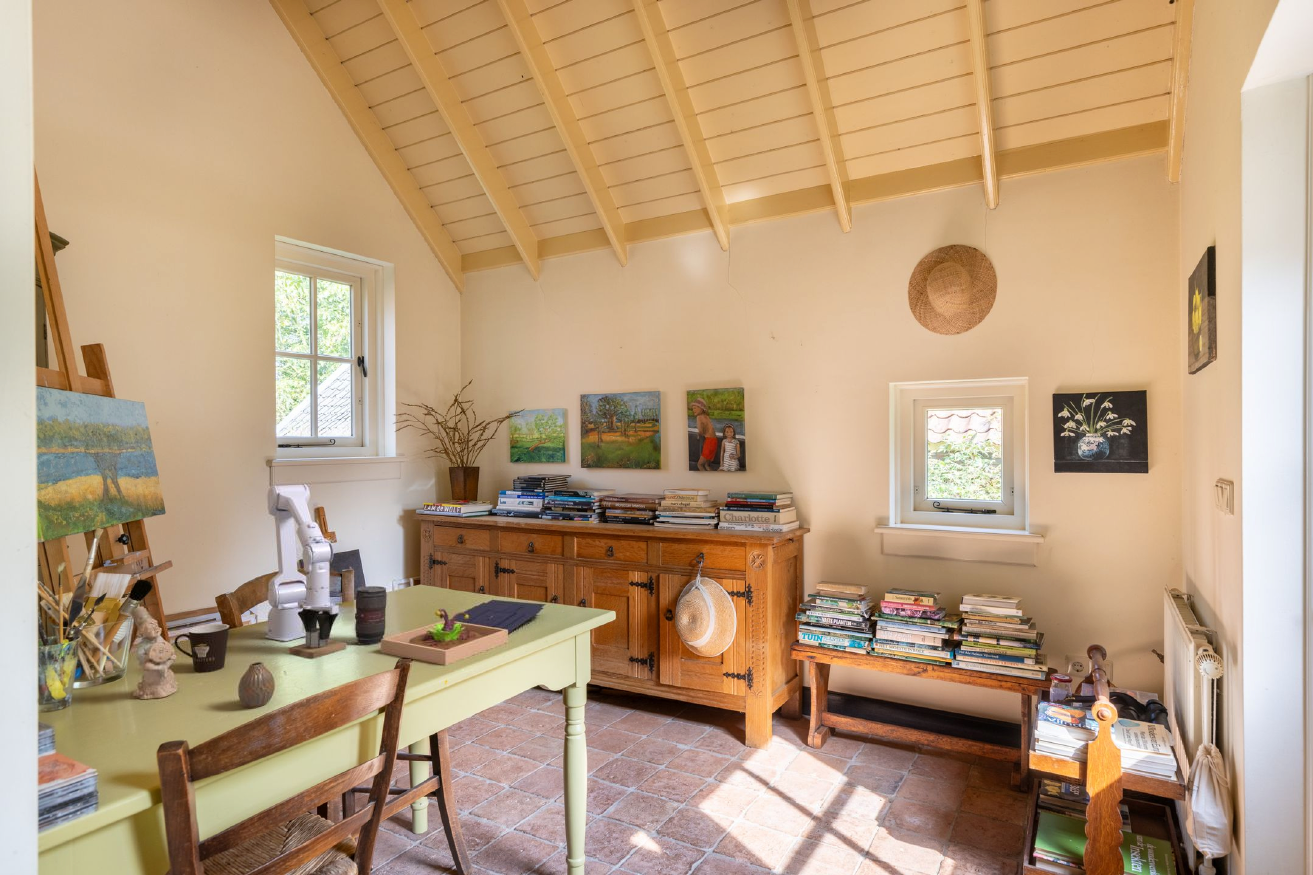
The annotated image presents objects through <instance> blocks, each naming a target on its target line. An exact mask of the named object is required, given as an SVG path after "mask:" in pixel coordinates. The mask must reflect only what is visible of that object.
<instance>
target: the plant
mask: <svg viewBox="0 0 1313 875" xmlns="http://www.w3.org/2000/svg"><path fill="white" fill-rule="evenodd" d="M442 612H443V613H442ZM461 614H463V615H464V618H465V619H468V615H467V614H466V613H463V612H462V611H461V612H458V613H456V614H455V615H453V617H452V618H449V614H448V611H446V609H444V608H439V609H436V611H435V616H436V617H439V619H440V620H443V621H445V623H444V625H442V624H437V627H435V626H433V628H434V629H435V630H436V632H434V631H433V630H431V629H427V630H428V631H427V632H429V633H425V634H422V635H419V636H416V637H414V638H412V639H410V642H409V643H410V644H415V645H421V646H426V647H432V648H437V649H442V650H447V649H450V648H453V647H456V646H459V645H462V644H465V643H468V642H471V641H474V640H476V639H479V638H482V637H484V636H482V635H480V634H478V633H476V632H470V630H469V631H462V630H463V629H464V628H462V629H460V626H461V623H457V624H455V625H454V622H455V619H456V618H457V616H458V615H461ZM450 619H451V620H450ZM449 620H450V621H449ZM459 629H460V630H459Z"/></svg>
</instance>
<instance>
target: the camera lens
mask: <svg viewBox="0 0 1313 875" xmlns="http://www.w3.org/2000/svg"><path fill="white" fill-rule="evenodd" d="M387 596H388V595H387V588H386V587H385V586H377V585H376V586H375V585H374V586H373V585H371V586H362V587H358V588H357V590H356V593H355V609H356V610H355V611H356V612H355V613H354V620H355V625H354V626H355V628H354V631H355V637H356V639H357V644H359V645H366V646H367V645H375V644H379V643H381V639H384V635H385V633H386V609H387V608H386V607H387V600H388V599H387Z"/></svg>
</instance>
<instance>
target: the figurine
mask: <svg viewBox="0 0 1313 875" xmlns="http://www.w3.org/2000/svg"><path fill="white" fill-rule="evenodd" d="M130 615H131V617H132V619H133V621H134V622H135V625H136V626H137V631H136V636H137V637H139V638H141V641H140V642H137V650H136V655H135V656H136V657H135V658H136V660H137V661H138V666H140V667H141V669H142V670H143V672H144V673H143V674H142V675H141V682H137V685H136V687H137V688H136V689H135V690H134V691H133V693H132V696H133V697H137V698H139V699H142V700H149V699H150V700H151V699H159V698H160V699H161V698H164V697H168V696H170V695H172V694H173V693H175V692H177V690H178V685H179V683H178V682H177V681H176V680H175V676H176V675H175V673H174V672H173V671H172V670H171V668H169V667H170V666H171V665H172V664H173V663H174V662H175V661H177V659H178V657H177V655H176V653H175V651H176V650H175V648H174V646H172V645H171V644H170V643H169V642H168V641H167V640H165V639H164V638H163V636H162V635H161V634H162V628H161V627H159V624H158V620H156V619H155V618H153V616H151V615H150V613H149V612H148V611H147V609H146V608H145V607H144V606H139V607H137V608H136V609H134V610H132V611H131V612H130Z"/></svg>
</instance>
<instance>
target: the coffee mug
mask: <svg viewBox="0 0 1313 875" xmlns="http://www.w3.org/2000/svg"><path fill="white" fill-rule="evenodd" d="M229 630H230V625H228V624H226V623H225V624H224V623H218V624H217V623H216V624H215V623H214V624H204V625H200V626H199V625H198V626H196V627H192V628H191V629H188V634H186V633H182V634H179V635H178V636H176V637H175V639H174V646H175V648H176V649H177V650H178V651H180V652H181V653H183V654H184V655H185V656H188V657H189V658H191V659H192V664H193V665H192V666H193V671H194V673H197V674H198V673H199V674H201V673H211V672H216V671H220V670H222V669H223V668H224V667H225V661H226V653H227V646H228V639H229V638H228V637H229V632H230V631H229ZM182 637H185V638H187V639H188V640H189V644H190V651H191V653H190V652H187V651H186V650H184V649H183V648H181V646H179V645H178V640H179V638H182Z"/></svg>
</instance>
